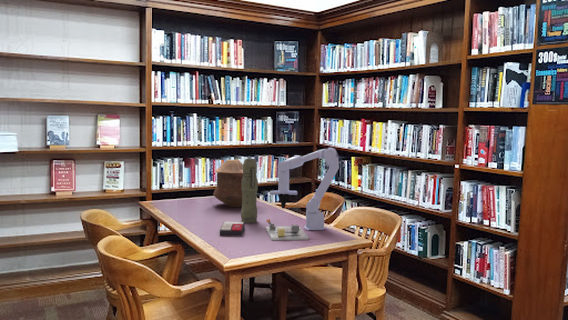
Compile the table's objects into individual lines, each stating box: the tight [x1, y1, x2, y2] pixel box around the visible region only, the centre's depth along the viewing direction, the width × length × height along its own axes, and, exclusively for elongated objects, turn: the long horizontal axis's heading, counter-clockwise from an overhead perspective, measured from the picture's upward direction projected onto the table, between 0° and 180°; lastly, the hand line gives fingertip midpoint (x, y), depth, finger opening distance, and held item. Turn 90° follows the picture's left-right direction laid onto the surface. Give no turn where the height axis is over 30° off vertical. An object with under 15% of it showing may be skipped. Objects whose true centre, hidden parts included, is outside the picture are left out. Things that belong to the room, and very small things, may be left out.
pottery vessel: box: [212, 159, 243, 208], centre depth 296 cm, size 26×26×30 cm
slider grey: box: [290, 224, 299, 232], centre depth 231 cm, size 3×3×3 cm
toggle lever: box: [266, 218, 273, 226], centre depth 236 cm, size 2×3×5 cm
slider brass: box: [277, 228, 285, 236], centre depth 222 cm, size 3×3×3 cm
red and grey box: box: [219, 221, 245, 237], centre depth 232 cm, size 11×4×15 cm
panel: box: [265, 223, 309, 241], centre depth 231 cm, size 18×22×3 cm
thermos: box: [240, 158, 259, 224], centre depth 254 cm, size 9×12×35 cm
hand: (283, 208), depth 246 cm, fingers closed
